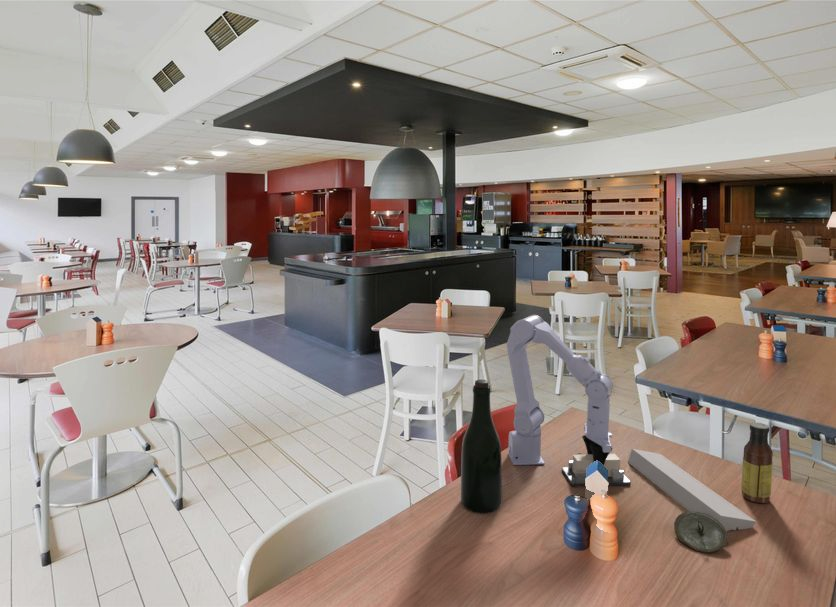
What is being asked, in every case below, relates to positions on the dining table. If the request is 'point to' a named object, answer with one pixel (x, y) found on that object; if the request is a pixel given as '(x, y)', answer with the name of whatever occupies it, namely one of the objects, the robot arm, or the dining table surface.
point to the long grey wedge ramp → (688, 490)
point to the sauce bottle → (757, 465)
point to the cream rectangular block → (585, 460)
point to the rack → (579, 479)
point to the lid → (700, 532)
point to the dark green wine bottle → (481, 456)
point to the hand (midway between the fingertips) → (595, 464)
